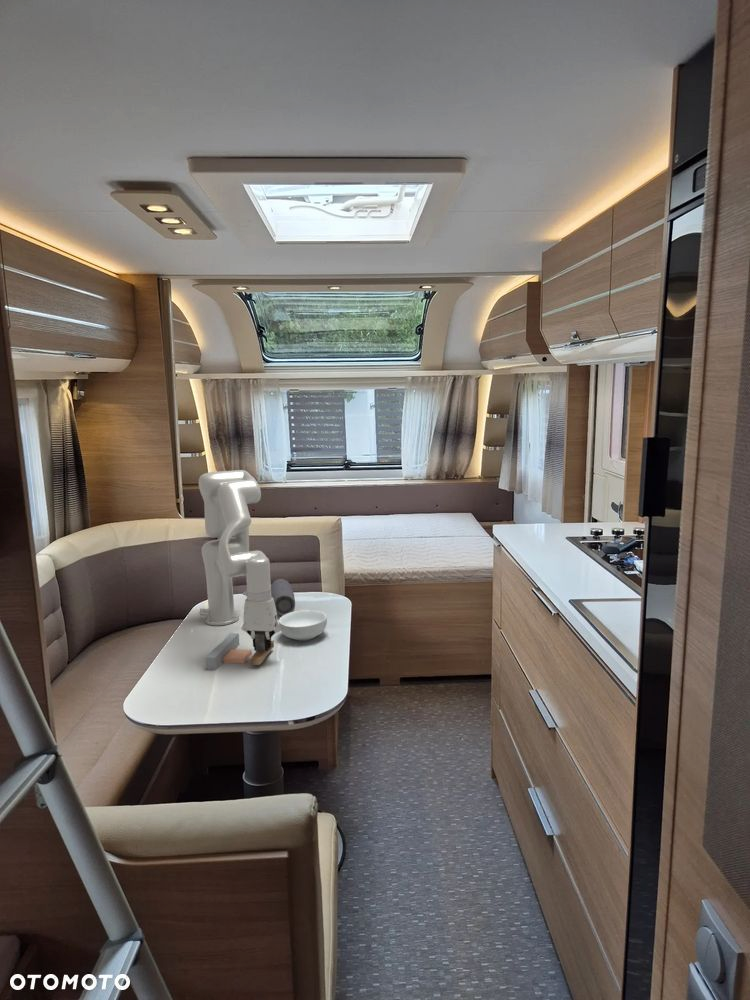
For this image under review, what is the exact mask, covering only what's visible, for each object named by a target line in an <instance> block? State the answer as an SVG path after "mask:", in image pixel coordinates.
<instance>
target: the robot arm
mask: <svg viewBox="0 0 750 1000" xmlns="http://www.w3.org/2000/svg"><path fill="white" fill-rule="evenodd" d="M198 488H199V491H200V495H201V497H202V500H203V502H204V503H203V504H204V528H205V533H206V535H207V536H208V537H209V538H213V539H211V540H209V541H206V542H205V543H204V544H203V545H202V546H201V557H202V561H203V564H204V570H205V578H206V579H205V580H206V592H207V605H208V606H207V607H208V608H200V609H199V612H198V613H199V615H200V616H206V617H205V619H204V622H205V624H207V625H209V626H216V627H217V626H226V625H231V624H233V623H235V622H237V621H238V620H239V619H240V615H239V614H238V613H237V612H235V600H234V587H233V578H238V577H244V576H245V578H246V579H245V581H246V590H244V591H243V593H242V595H243V596H246V599H244V603H243V604H244V605H243V619H242V621H243V623H242V624H243V625H242V626H241V630H242V631H243V632H245V633H246V634H248V636H250V638H251V640H252V647H253V650H254V651H255V652H256V645H255V633H256V632H257V631H265V634H266V639H265V651H268V650H269V649H270V648H271V641H272V638H273V636H274V635H275V634H277V633H279V632H281V627H280V625H279V621H278V614H277V612H276V606H275V602H274V599H273V598H272V597H271V585H272V583H271V564H270V563H271V562H270V559H269V558H268V557H267V556H266V554H265V553H264V552H263V551H262V550H258V549H257V550H250V525H251V523H252V517H251V515H250V512H249V507H248V504H249V505H250V504H257V503H258V502H260V500H261V499H262V498H261V497H262V491H261V490H262V489H261V487H260V484H259V483H258V481H257V480H256V479H255V477H253V476H252V475H251V474H250V473H249V472H248V471H247V470H244V469H235V470H232V469H231V470H222V471H221V470H220V471H212V472H205V473H203V474H201V475H200V476H199V478H198ZM216 538H218V539H216Z"/></svg>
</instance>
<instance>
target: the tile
mask: <svg viewBox="0 0 750 1000" xmlns="http://www.w3.org/2000/svg"><path fill="white" fill-rule="evenodd" d="M252 653H253V651H252V649H237V648H236V649H231V650H230V651H229V652H228V653H227V654H226V655H225V656H224V658H223V663H225V664H226V663H227V664H245V663H246V662H247V660H249V658H251V657H252V656H253V655H252ZM223 663H222V664H223Z"/></svg>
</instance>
